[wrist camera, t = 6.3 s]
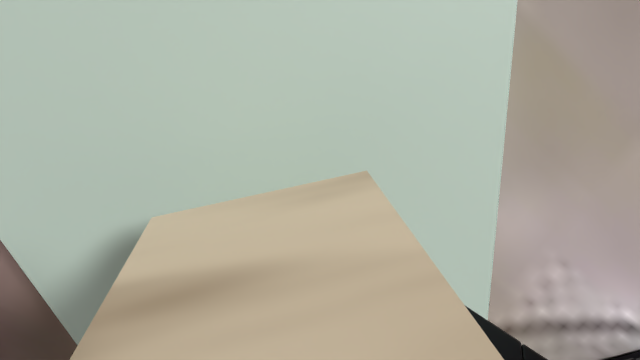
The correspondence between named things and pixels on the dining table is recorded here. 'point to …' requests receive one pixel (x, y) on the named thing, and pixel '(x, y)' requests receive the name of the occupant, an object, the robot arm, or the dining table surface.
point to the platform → (244, 123)
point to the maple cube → (284, 285)
